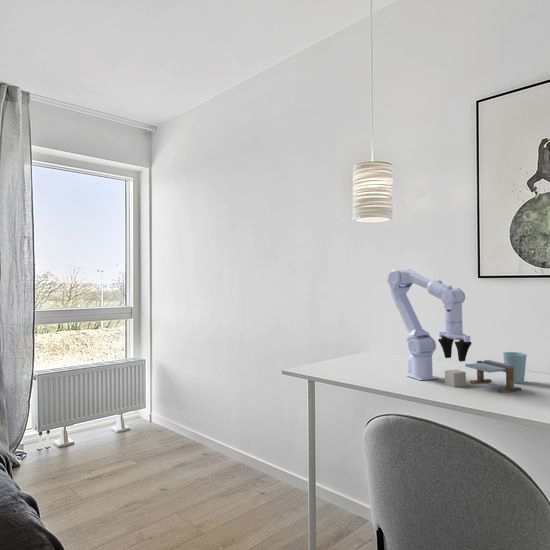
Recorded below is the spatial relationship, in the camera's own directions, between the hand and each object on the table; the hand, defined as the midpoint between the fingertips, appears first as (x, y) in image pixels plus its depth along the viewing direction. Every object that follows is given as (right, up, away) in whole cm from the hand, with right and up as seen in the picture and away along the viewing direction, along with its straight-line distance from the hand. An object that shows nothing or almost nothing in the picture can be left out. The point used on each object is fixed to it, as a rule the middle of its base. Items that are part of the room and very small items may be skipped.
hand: (454, 359), depth 165 cm
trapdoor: (+10, -3, -4) cm, 12 cm away
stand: (+13, -9, -4) cm, 16 cm away
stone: (0, -9, 0) cm, 9 cm away
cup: (+23, -9, +3) cm, 25 cm away
